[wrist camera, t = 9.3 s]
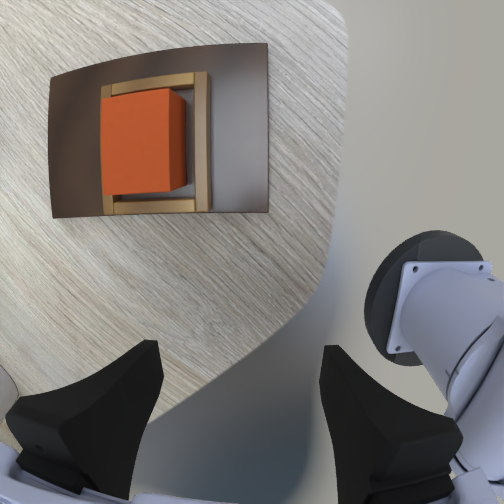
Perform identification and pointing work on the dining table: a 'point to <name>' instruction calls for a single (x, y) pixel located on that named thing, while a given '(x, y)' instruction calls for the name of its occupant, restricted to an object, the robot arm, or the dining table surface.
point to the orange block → (143, 142)
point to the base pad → (196, 131)
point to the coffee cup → (6, 393)
